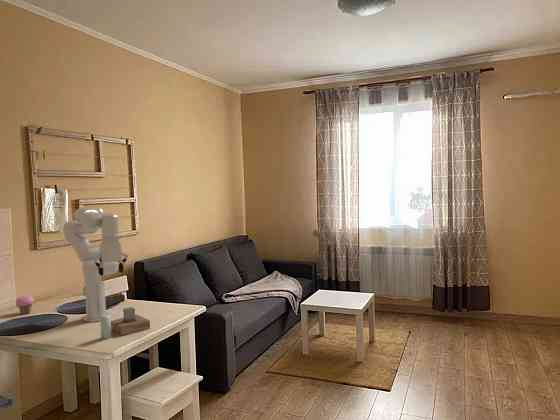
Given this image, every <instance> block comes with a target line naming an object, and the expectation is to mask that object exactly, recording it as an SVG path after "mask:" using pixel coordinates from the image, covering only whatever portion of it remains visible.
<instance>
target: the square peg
mask: <svg viewBox="0 0 560 420" xmlns="http://www.w3.org/2000/svg"><path fill="white" fill-rule="evenodd" d="M135 315H136V309H135V308H134V307H132V306H130V307H129V306H128V307H124V308H123V318H124V322H125V323H129V322H133V321H135Z"/></svg>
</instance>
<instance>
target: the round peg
mask: <svg viewBox="0 0 560 420" xmlns="http://www.w3.org/2000/svg"><path fill="white" fill-rule="evenodd" d="M111 317H112V316H111V315H110V314H109V315H103V316H101V317H100V321H99V323H100V338H101V340H108V339H112V330H111V321H112V319H111Z"/></svg>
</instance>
